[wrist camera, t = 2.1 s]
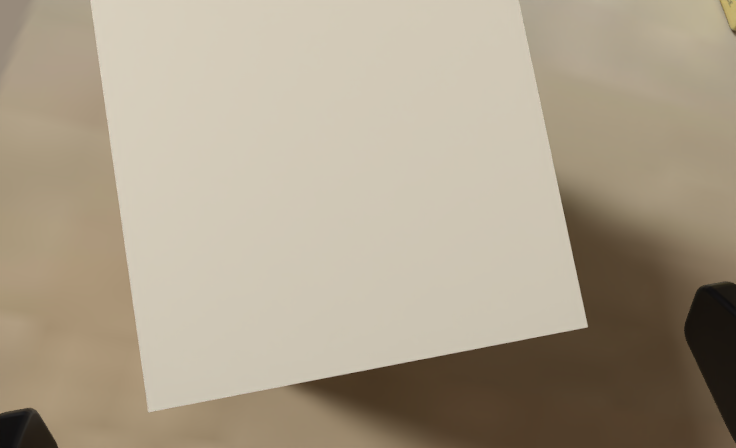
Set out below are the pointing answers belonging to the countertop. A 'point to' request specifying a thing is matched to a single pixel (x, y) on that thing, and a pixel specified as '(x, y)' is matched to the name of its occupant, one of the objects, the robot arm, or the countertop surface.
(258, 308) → the cream carton
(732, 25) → the candy box
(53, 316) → the countertop surface
